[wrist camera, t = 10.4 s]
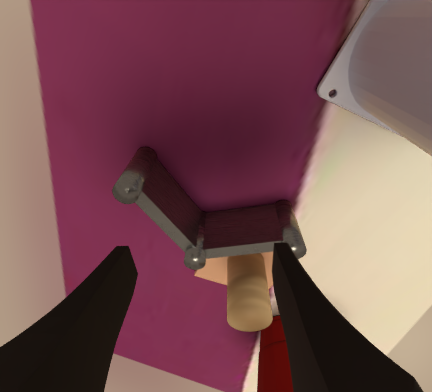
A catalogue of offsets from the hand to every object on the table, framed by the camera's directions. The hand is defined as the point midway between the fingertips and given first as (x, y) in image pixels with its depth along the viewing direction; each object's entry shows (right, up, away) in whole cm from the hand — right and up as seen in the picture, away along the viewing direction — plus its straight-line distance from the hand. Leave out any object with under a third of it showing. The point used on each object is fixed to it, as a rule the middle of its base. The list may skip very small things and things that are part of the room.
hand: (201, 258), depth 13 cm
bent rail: (0, +3, +10) cm, 10 cm away
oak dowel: (+4, -3, +13) cm, 14 cm away
